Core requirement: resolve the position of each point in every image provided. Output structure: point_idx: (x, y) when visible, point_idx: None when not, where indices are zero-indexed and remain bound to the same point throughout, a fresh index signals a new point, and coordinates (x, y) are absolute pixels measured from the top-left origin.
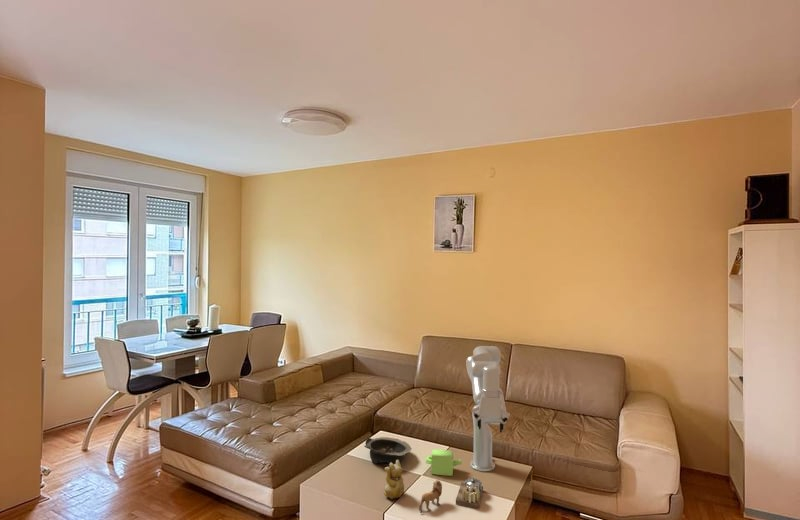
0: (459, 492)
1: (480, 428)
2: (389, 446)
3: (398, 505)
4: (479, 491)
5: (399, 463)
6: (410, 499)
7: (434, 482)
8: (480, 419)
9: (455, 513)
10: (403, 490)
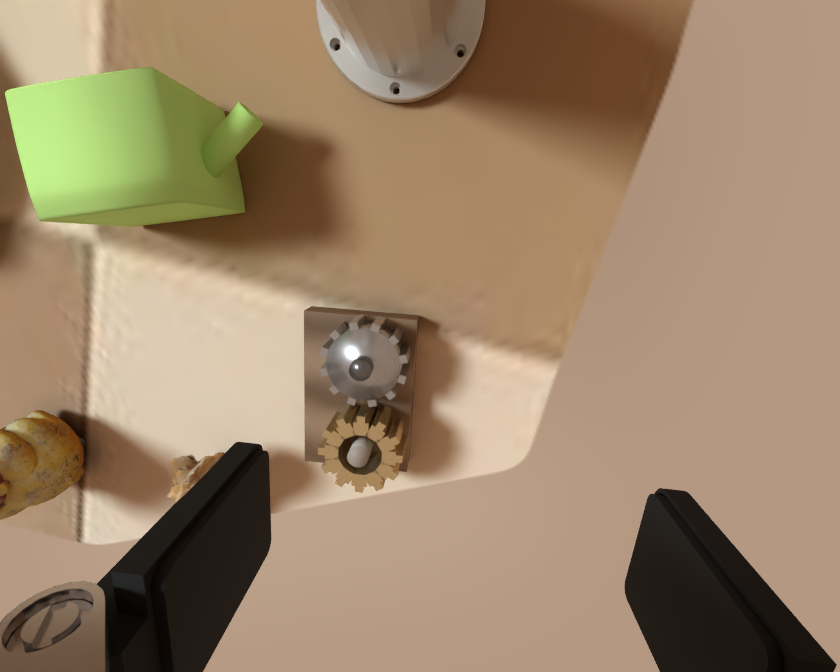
0: (310, 402)
1: (269, 520)
2: None
3: (105, 498)
4: (402, 457)
5: None
6: (130, 453)
7: (170, 498)
8: (153, 626)
9: (321, 504)
10: (73, 469)
